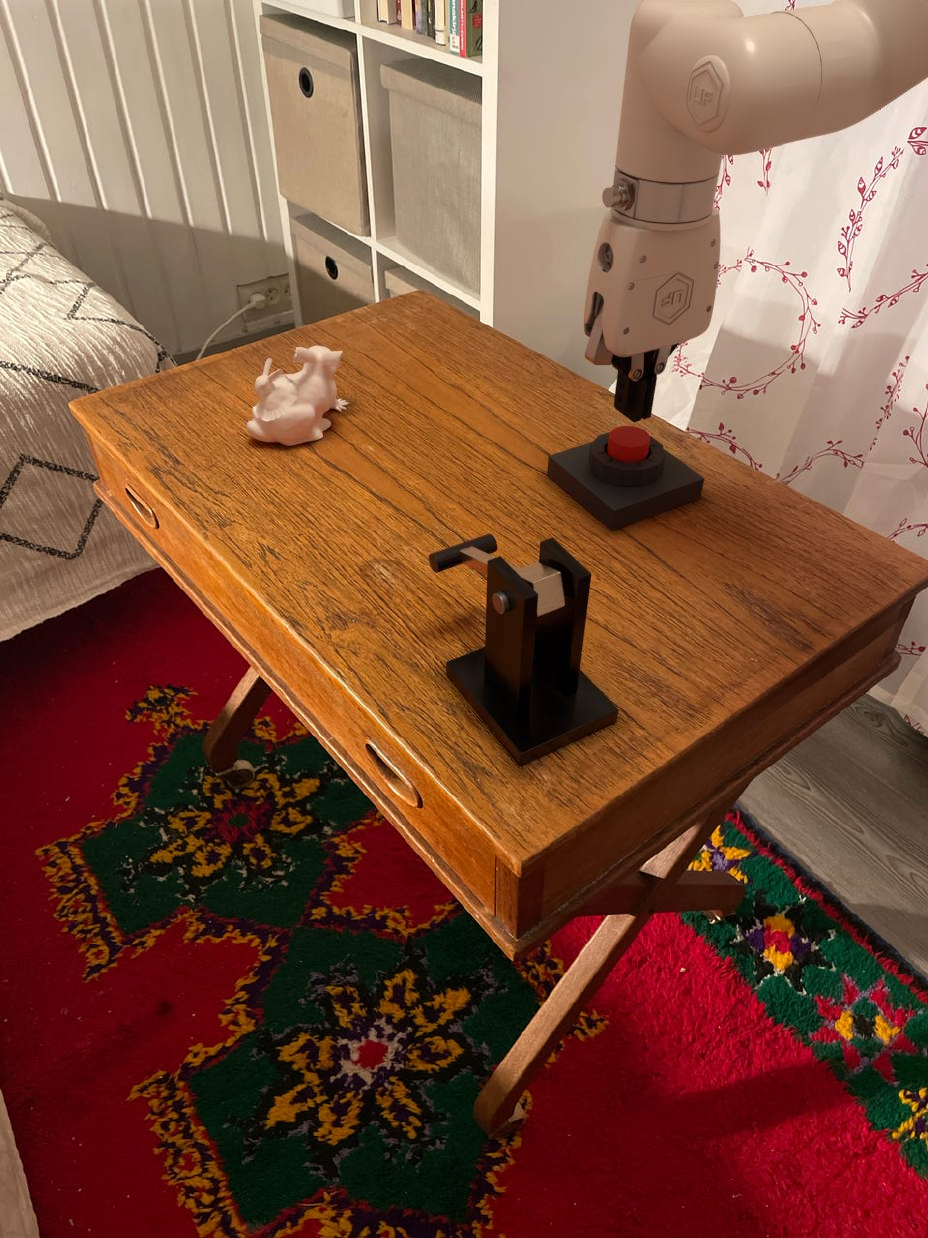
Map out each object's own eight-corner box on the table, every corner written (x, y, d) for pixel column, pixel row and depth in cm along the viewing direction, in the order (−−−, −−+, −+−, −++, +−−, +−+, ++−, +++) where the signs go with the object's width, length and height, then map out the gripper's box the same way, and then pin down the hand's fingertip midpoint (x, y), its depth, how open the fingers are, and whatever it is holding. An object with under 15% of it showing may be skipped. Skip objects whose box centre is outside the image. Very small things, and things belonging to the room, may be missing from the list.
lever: (431, 576, 70) (425, 545, 69) (490, 555, 72) (485, 525, 71) (518, 624, 60) (513, 590, 59) (584, 599, 62) (579, 564, 61)
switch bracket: (445, 673, 70) (444, 544, 62) (537, 636, 73) (547, 508, 66) (520, 766, 64) (529, 634, 56) (617, 721, 67) (639, 590, 59)
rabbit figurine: (344, 399, 100) (337, 310, 94) (382, 431, 96) (377, 339, 89) (237, 433, 95) (222, 340, 89) (272, 468, 90) (258, 373, 84)
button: (630, 438, 88) (633, 421, 87) (655, 457, 86) (658, 440, 85) (598, 449, 87) (601, 432, 86) (623, 468, 84) (625, 450, 83)
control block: (632, 447, 94) (637, 410, 91) (700, 498, 87) (708, 460, 85) (546, 475, 90) (549, 438, 87) (611, 531, 83) (616, 492, 81)
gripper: (612, 227, 66) (586, 456, 78) (774, 192, 72) (726, 411, 84) (550, 194, 71) (535, 415, 83) (707, 163, 77) (671, 375, 89)
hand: (631, 412), depth 84 cm, fingers closed
